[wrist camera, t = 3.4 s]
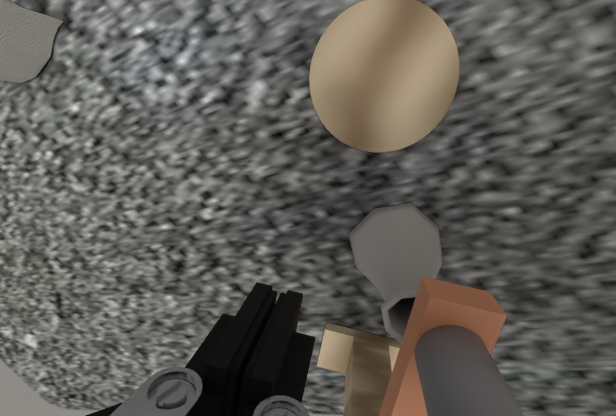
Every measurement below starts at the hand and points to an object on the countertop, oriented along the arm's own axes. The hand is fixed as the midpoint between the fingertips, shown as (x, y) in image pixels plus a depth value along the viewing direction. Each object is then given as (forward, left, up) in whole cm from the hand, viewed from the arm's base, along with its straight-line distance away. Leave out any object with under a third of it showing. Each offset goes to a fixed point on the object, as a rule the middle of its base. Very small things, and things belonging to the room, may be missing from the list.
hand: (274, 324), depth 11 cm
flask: (-6, +2, -16) cm, 17 cm away
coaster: (-2, -10, -15) cm, 19 cm away
